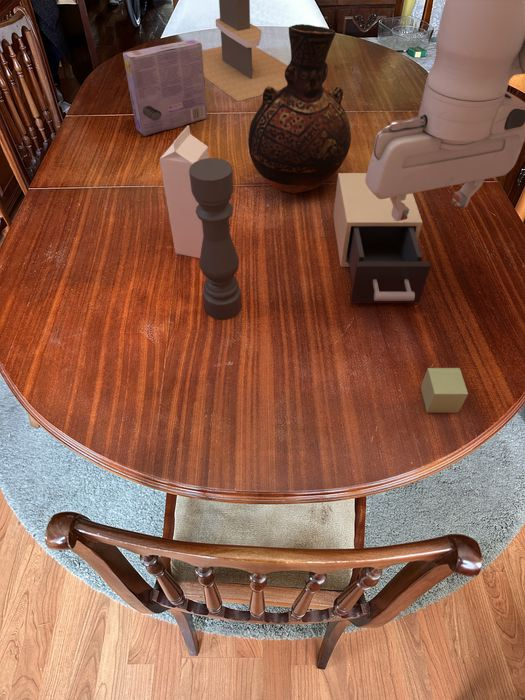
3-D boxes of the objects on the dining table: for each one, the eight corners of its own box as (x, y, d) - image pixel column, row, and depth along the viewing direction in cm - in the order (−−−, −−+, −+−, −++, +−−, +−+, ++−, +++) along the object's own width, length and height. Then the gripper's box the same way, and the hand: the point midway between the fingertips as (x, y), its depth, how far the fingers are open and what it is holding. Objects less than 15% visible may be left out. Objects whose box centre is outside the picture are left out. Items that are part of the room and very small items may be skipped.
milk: (175, 254, 94) (154, 139, 78) (187, 235, 98) (170, 121, 81) (205, 259, 93) (191, 145, 76) (217, 240, 97) (206, 126, 80)
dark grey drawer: (424, 321, 81) (436, 284, 76) (353, 321, 81) (360, 284, 76) (403, 248, 94) (413, 212, 88) (342, 248, 94) (347, 212, 88)
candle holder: (238, 291, 87) (231, 155, 69) (244, 317, 83) (237, 179, 65) (202, 296, 87) (185, 159, 68) (206, 321, 83) (188, 183, 64)
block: (451, 387, 74) (460, 367, 71) (458, 412, 71) (468, 394, 68) (420, 387, 74) (427, 367, 71) (426, 412, 71) (434, 393, 68)
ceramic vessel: (256, 211, 103) (253, 49, 80) (243, 167, 114) (237, 14, 92) (355, 201, 105) (380, 40, 83) (333, 159, 117) (350, 7, 94)
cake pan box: (203, 110, 133) (196, 35, 120) (212, 118, 130) (206, 41, 117) (135, 130, 126) (120, 52, 113) (143, 138, 124) (129, 59, 110)
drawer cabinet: (410, 267, 92) (422, 222, 84) (340, 267, 92) (347, 222, 84) (395, 216, 102) (405, 172, 94) (333, 216, 102) (338, 172, 95)
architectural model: (313, 80, 145) (319, 0, 130) (237, 101, 137) (234, 17, 122) (245, 40, 167) (243, -33, 152) (176, 56, 158) (166, -20, 143)
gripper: (392, 136, 56) (371, 239, 66) (547, 110, 60) (504, 211, 70) (366, 111, 59) (350, 212, 70) (513, 88, 64) (478, 187, 74)
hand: (429, 211), depth 70 cm, fingers open, 8 cm apart
